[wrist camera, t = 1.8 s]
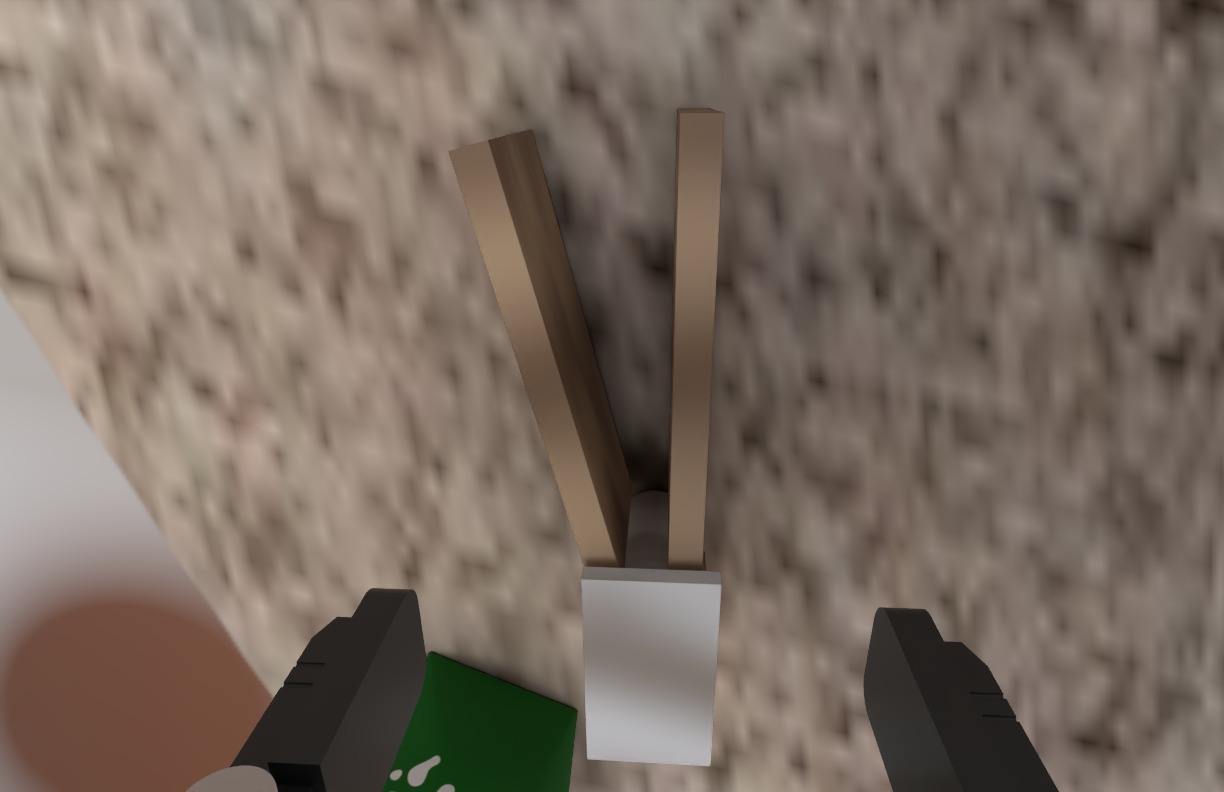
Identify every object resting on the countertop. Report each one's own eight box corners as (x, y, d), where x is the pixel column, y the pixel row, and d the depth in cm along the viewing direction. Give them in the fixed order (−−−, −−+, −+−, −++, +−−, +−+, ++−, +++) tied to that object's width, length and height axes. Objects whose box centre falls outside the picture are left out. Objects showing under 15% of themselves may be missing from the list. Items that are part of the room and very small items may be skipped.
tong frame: (701, 620, 29) (710, 765, 23) (604, 616, 29) (586, 759, 23) (726, 108, 21) (750, 114, 15) (595, 109, 22) (565, 115, 15)
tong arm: (691, 538, 27) (696, 643, 22) (623, 549, 28) (613, 655, 22) (583, 114, 22) (556, 121, 16) (500, 137, 22) (448, 151, 17)
